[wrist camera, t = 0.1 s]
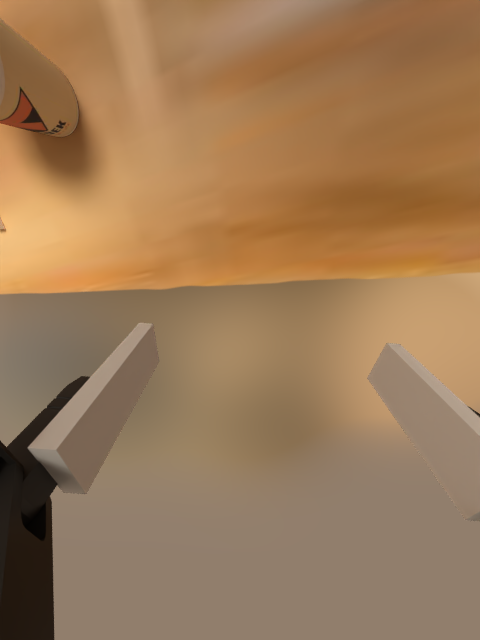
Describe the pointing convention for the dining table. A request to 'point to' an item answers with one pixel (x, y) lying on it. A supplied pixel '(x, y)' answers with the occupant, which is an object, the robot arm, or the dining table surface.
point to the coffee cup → (33, 89)
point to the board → (1, 225)
